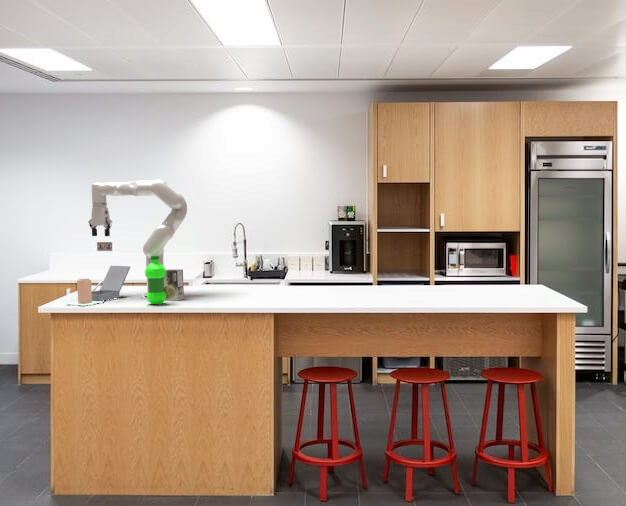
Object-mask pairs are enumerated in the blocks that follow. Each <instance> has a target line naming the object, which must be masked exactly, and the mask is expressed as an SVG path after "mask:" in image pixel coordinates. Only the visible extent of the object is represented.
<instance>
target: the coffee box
mask: <svg viewBox="0 0 626 506" xmlns="http://www.w3.org/2000/svg"><path fill="white" fill-rule="evenodd" d="M184 289H185V288H184V270H183V269H174V268H173V269H166V275H165V276H164V292H165V294H166V299H165V301H181V300H184V299H185V290H184Z"/></svg>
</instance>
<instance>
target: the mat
mask: <svg viewBox="0 0 626 506" xmlns="http://www.w3.org/2000/svg"><path fill="white" fill-rule="evenodd" d="M100 302H103V301H92V302H91V303H86V304H83V303H78V301H74V302H69V303H66V304H67V305H66V306H71V305H78V306H77V307H84V306H85V307H87V306H86V305H90V306H92V305H91V304H95V305H97V304H96V303H100Z"/></svg>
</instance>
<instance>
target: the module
mask: <svg viewBox="0 0 626 506" xmlns="http://www.w3.org/2000/svg"><path fill="white" fill-rule="evenodd" d="M76 284H77V285H76V286H77V302H78V303H83V304H86V303H91V302H92V291H93V290H92V287H93V286H92V279H90V278H86V277H85V278H79V279H77V280H76Z"/></svg>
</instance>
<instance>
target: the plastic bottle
mask: <svg viewBox="0 0 626 506" xmlns="http://www.w3.org/2000/svg"><path fill="white" fill-rule="evenodd" d="M158 259H159V256H151V260H152V263H151V264H150V265H149V266H148V267H147V268H146V267H145V269H144V274H145V277H146V279H147V278H148V294H147V297H146V300H147V302H149V304H151V305H152V304H159V305H162V304H163V303H164V302H165V301H166V300H165V299H166V294H165V292H164V276H165V275H166V270H167V269H166V267H165V266H164V267H163V266H162V265H161V264H160V263H159V262H158Z"/></svg>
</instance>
